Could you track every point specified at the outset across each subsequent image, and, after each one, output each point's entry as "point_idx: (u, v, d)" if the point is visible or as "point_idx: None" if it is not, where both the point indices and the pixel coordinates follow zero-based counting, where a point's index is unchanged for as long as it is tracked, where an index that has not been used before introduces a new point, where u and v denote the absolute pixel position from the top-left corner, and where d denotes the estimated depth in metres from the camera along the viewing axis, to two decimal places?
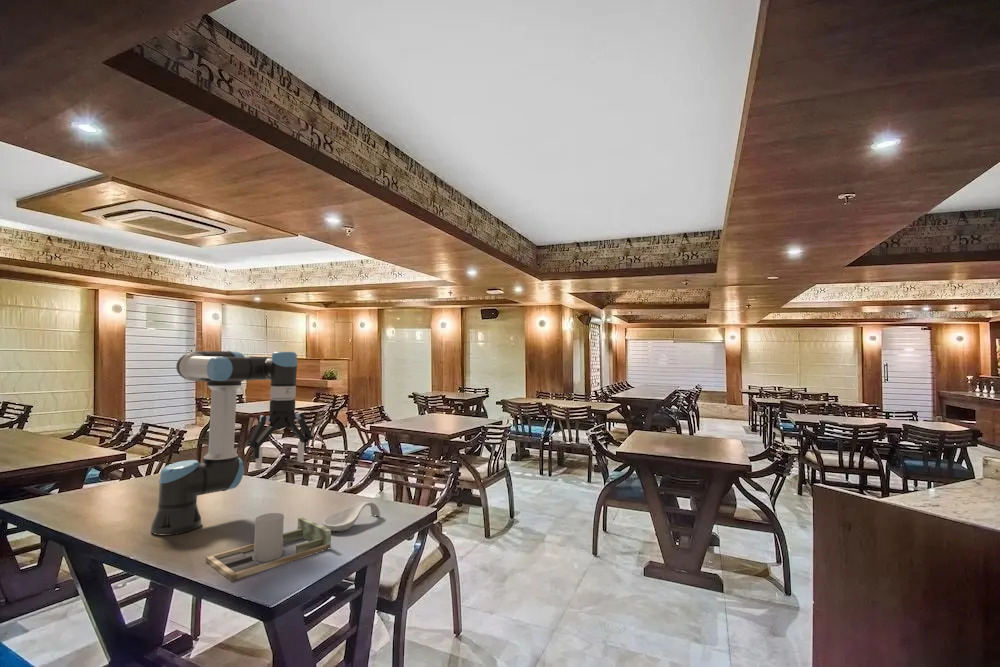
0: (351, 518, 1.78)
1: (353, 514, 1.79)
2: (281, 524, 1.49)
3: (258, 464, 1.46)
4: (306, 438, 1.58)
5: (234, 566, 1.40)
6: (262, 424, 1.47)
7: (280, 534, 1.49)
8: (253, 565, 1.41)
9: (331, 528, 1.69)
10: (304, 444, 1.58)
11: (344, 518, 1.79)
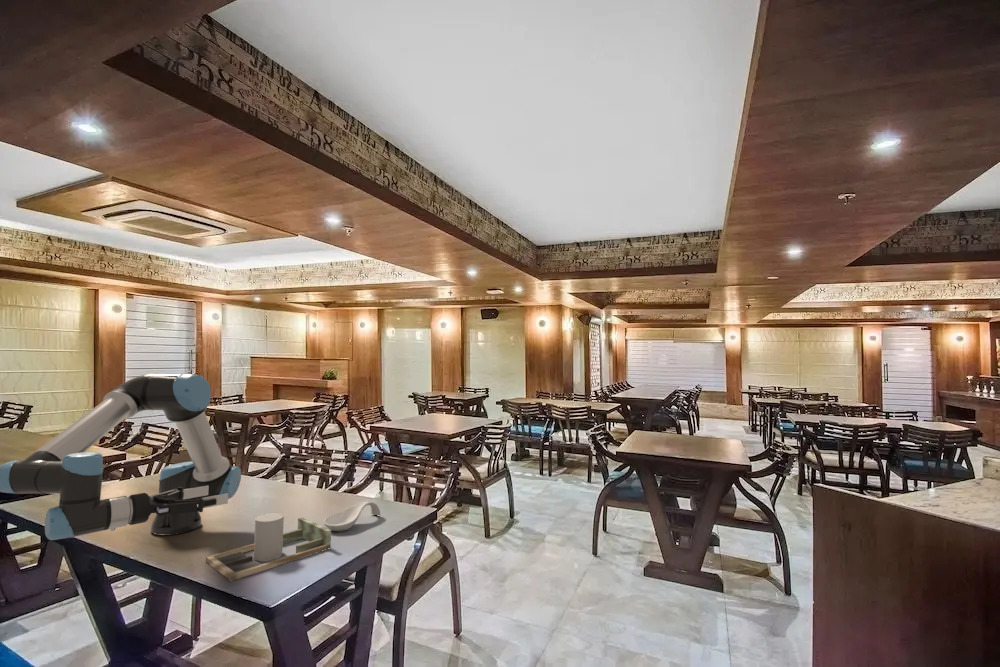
0: (352, 518, 1.78)
1: (354, 514, 1.79)
2: (281, 524, 1.49)
3: None
4: (198, 509, 1.27)
5: (234, 566, 1.40)
6: None
7: (280, 534, 1.49)
8: (253, 565, 1.41)
9: (332, 528, 1.69)
10: (206, 505, 1.29)
11: (345, 518, 1.79)
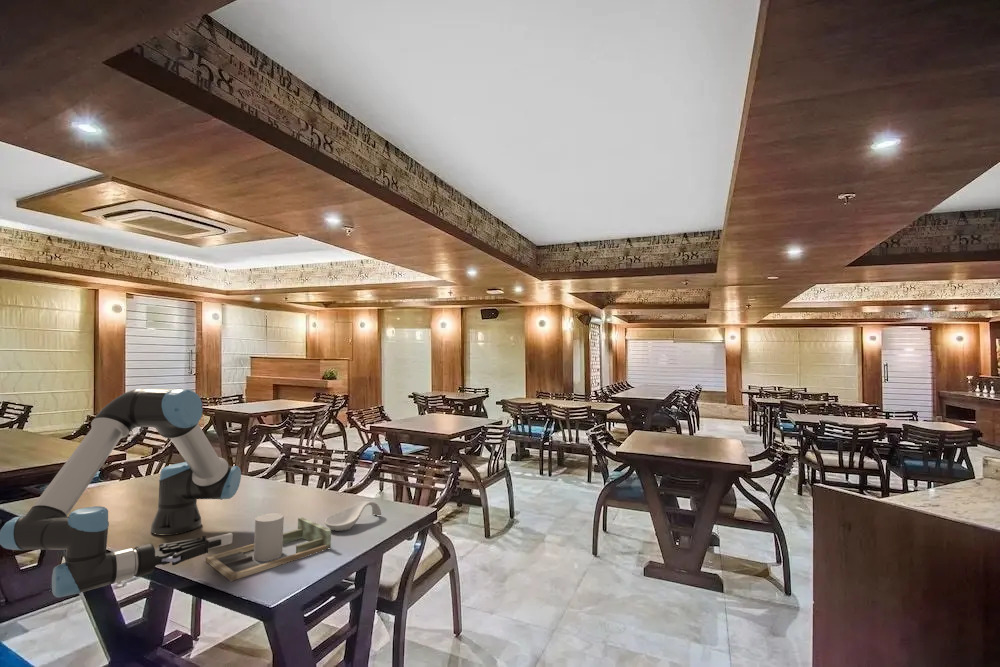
0: (353, 518, 1.78)
1: (355, 514, 1.80)
2: (281, 524, 1.49)
3: None
4: None
5: (234, 566, 1.40)
6: None
7: (280, 534, 1.49)
8: (253, 565, 1.41)
9: (333, 527, 1.69)
10: (211, 546, 1.36)
11: (346, 518, 1.79)
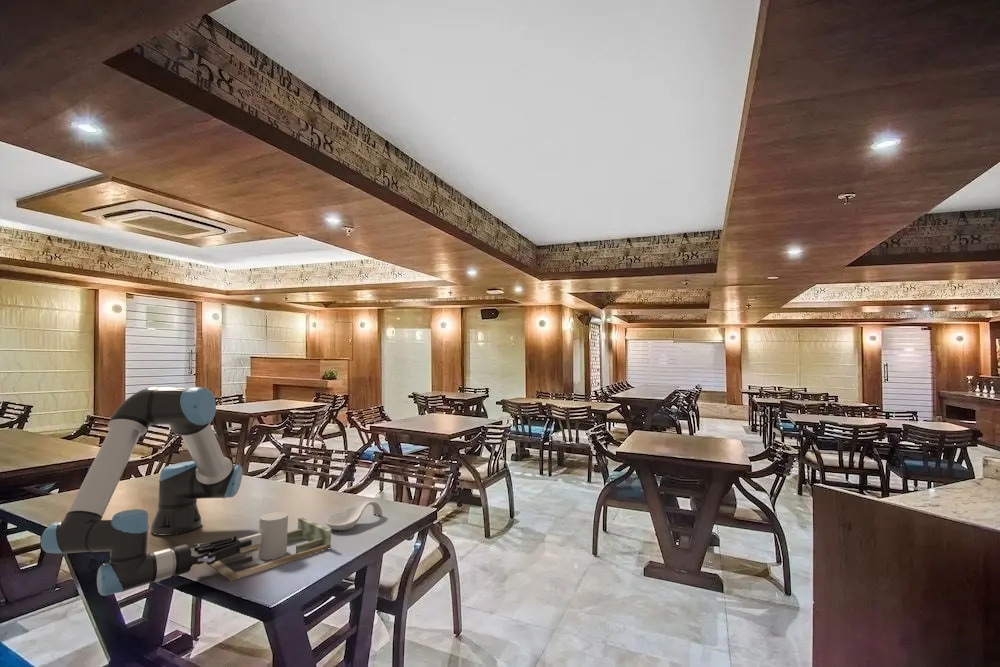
0: (354, 517, 1.79)
1: (356, 513, 1.80)
2: (285, 523, 1.50)
3: None
4: None
5: (234, 566, 1.40)
6: None
7: (284, 533, 1.50)
8: (253, 565, 1.41)
9: (334, 527, 1.70)
10: (242, 546, 1.42)
11: (347, 517, 1.79)
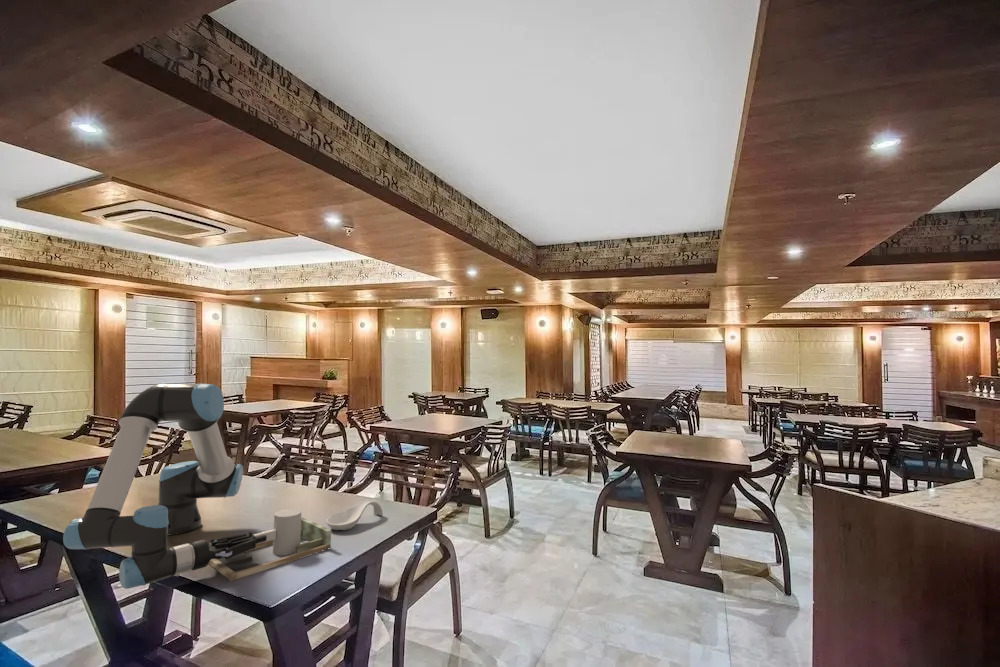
0: (354, 517, 1.79)
1: (356, 513, 1.80)
2: (299, 519, 1.54)
3: None
4: None
5: (234, 566, 1.40)
6: None
7: (298, 529, 1.53)
8: (253, 565, 1.41)
9: (334, 527, 1.70)
10: None
11: (347, 517, 1.80)
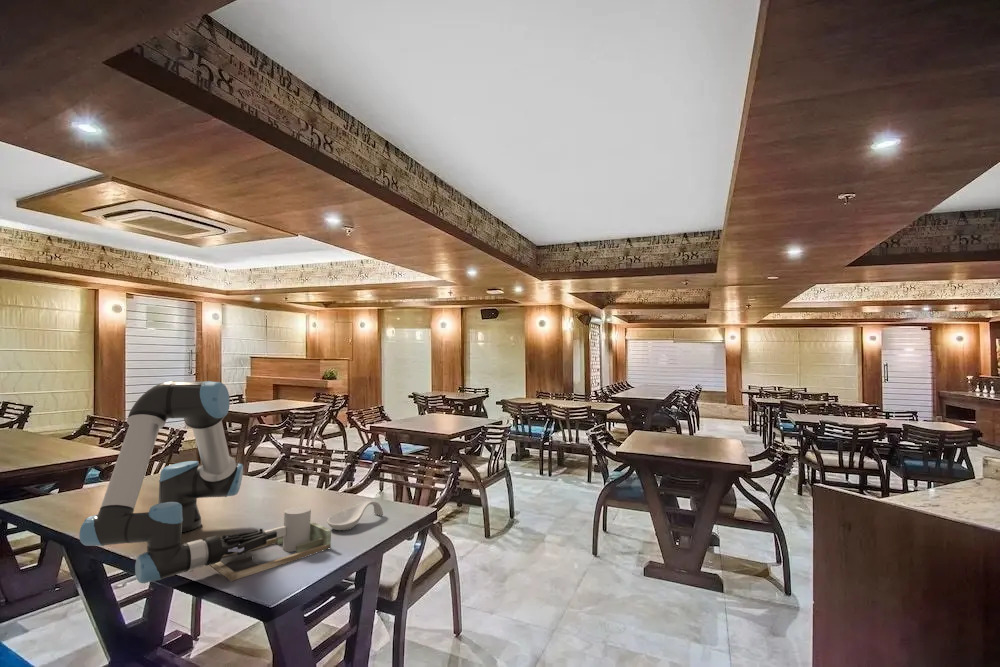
0: (355, 517, 1.79)
1: (357, 513, 1.80)
2: (308, 517, 1.57)
3: None
4: None
5: (234, 566, 1.40)
6: None
7: (307, 526, 1.56)
8: (253, 565, 1.41)
9: (335, 527, 1.70)
10: (268, 538, 1.48)
11: (348, 517, 1.80)
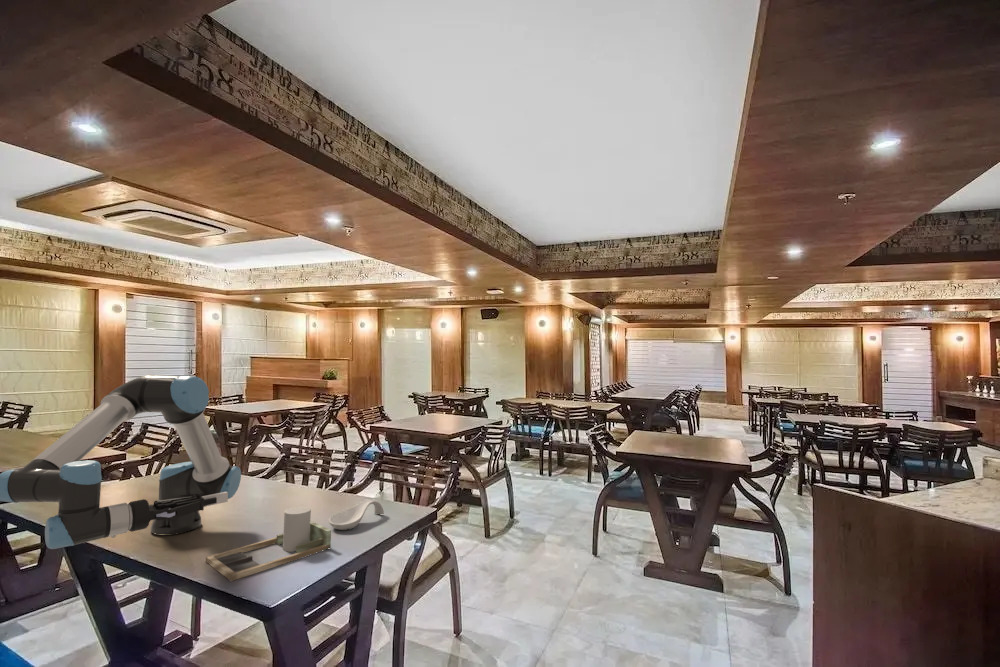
0: (356, 517, 1.80)
1: (358, 513, 1.81)
2: (308, 517, 1.57)
3: None
4: None
5: (234, 566, 1.40)
6: None
7: (307, 526, 1.56)
8: (253, 565, 1.41)
9: (337, 527, 1.70)
10: None
11: (349, 517, 1.80)
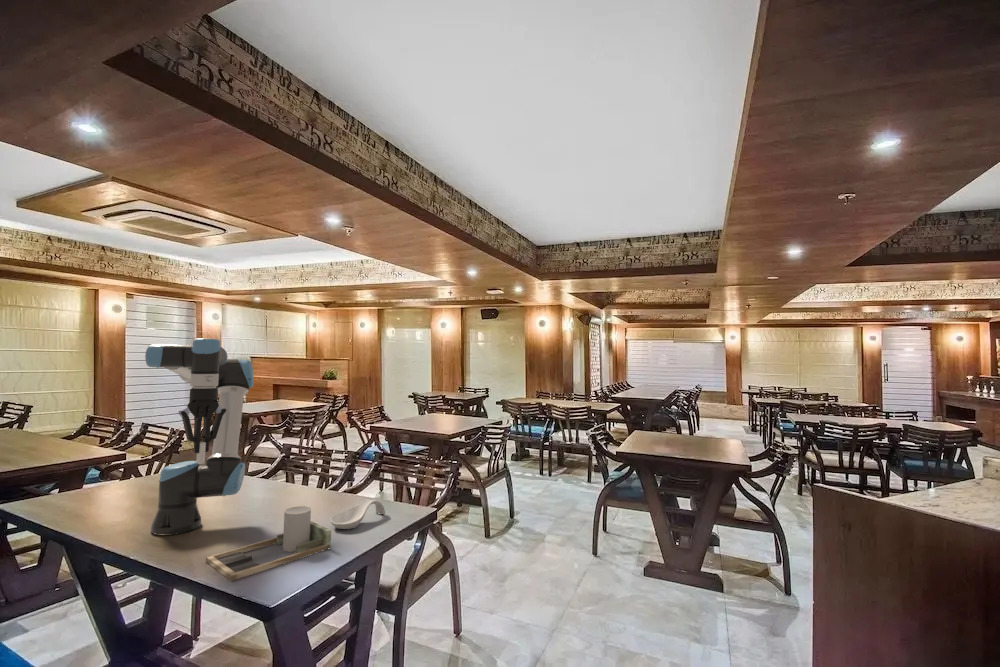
0: (357, 516, 1.80)
1: (359, 512, 1.81)
2: (308, 517, 1.57)
3: (198, 459, 1.46)
4: (209, 438, 1.48)
5: (234, 566, 1.40)
6: (186, 419, 1.44)
7: (307, 526, 1.56)
8: (253, 565, 1.41)
9: (339, 526, 1.71)
10: (206, 444, 1.48)
11: (350, 516, 1.81)
